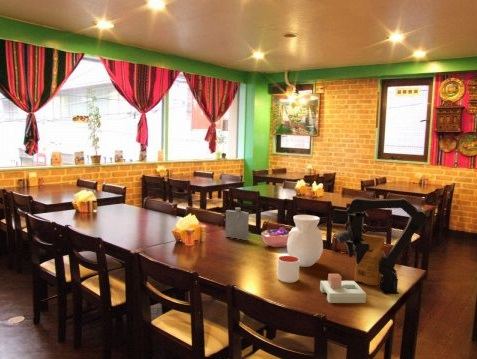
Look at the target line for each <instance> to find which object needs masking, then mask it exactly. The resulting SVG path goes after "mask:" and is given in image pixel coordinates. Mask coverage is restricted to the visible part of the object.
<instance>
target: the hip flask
mask: <svg viewBox="0 0 477 359" xmlns="http://www.w3.org/2000/svg"><path fill="white" fill-rule="evenodd" d="M234 209H235V210H231V209H227V210H225V238H226V237H231V238H230V239H233V238H237V239H236V240H239V239H242V240H241V241H243V240H248V241H249V223H250V222H249V221H250V220H249V219H250V218H249V216H250V212H246V211H244V210H243V211H242V210H241V209H242V208H241V207H239V206H238V207H234Z"/></svg>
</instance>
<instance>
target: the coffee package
mask: <svg viewBox="0 0 477 359" xmlns="http://www.w3.org/2000/svg"><path fill="white" fill-rule="evenodd" d="M362 238H363V239H364V241H361V242H366V243H367V244H369V246H370V250H368V251H367V252H366V254H365V255H364V256H363V258H362V260H361V261H360V263H359V264H357V263H356V262H355V268H354V278H353V279H354V280H353V281H355V282H356V283H357V282H359V283H363V284H365V285H369V286H379V285H380V280H381V276H383V275H381V274H380V272H379V270H378V260H379V259H381V257H382V255H383V254H385V236H372V235H368V234H365V233H363V234H362Z"/></svg>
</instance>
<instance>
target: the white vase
mask: <svg viewBox="0 0 477 359" xmlns="http://www.w3.org/2000/svg"><path fill="white" fill-rule="evenodd" d="M320 219H321V218H320V217H319V216H316V215H310V214H296V215H293V222H294V224H295V227H292V229H291V230H289V231H290V232H289V237H288V242H287V245H286V250H287V253H288V256H294V257H297V258H299V260H300V262H299V267H301V268H302V267H304V268H305V267H306V268H308V267H312V266H313V265H315V263H317V262H318V261H319V260H320V258H321V256H322V254H323V251H324V243H323V242H324V241H323V238H322V237H323V233H322V232H321V230H320V229H319V227H318V224H319V223H320Z"/></svg>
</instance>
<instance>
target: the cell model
mask: <svg viewBox="0 0 477 359" xmlns="http://www.w3.org/2000/svg"><path fill="white" fill-rule="evenodd" d="M290 231H291V230H286V228H285V227H282V226H280V227H279V229H267V230H264V231H262V232H261V234H260V235H261V240H262V241H263V243H265V244H266V245H267V246H269V247H272V248H284V247H285V246H287V242H288V237H289V232H290Z"/></svg>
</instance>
